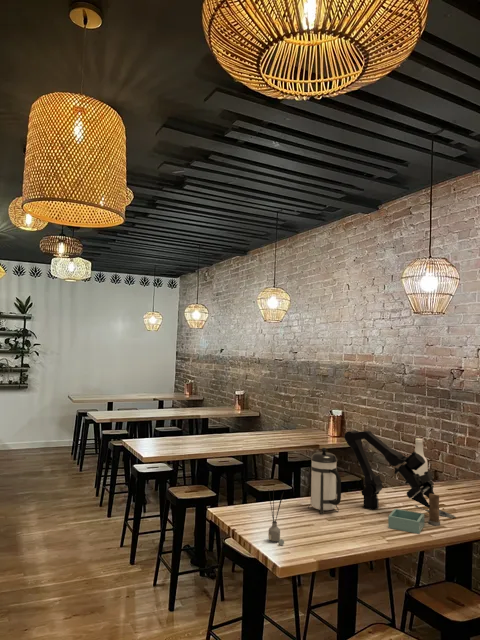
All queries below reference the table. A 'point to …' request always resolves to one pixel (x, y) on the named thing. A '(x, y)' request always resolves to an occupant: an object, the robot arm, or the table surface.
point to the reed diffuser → (275, 525)
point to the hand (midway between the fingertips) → (433, 505)
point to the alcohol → (420, 451)
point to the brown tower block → (434, 510)
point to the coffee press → (325, 482)
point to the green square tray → (406, 521)
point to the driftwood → (441, 513)
